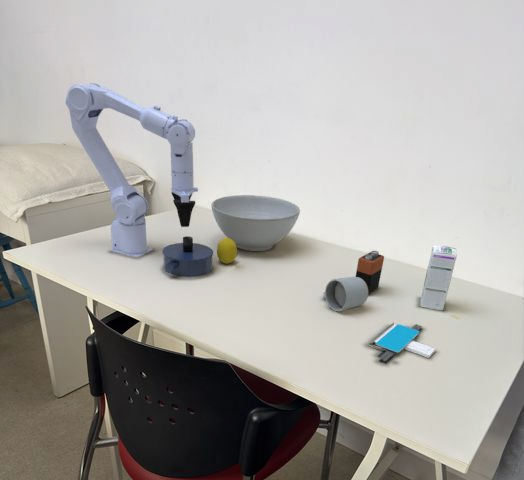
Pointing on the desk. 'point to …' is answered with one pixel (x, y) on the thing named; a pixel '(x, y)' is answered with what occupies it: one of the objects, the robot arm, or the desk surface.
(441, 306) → the syrup box
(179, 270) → the pot
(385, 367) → the desk surface
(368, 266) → the battery
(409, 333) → the blue flat gadget
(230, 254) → the lemon
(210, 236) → the desk surface
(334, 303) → the ceramic mug
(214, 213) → the decorative bowl
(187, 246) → the pot lid
